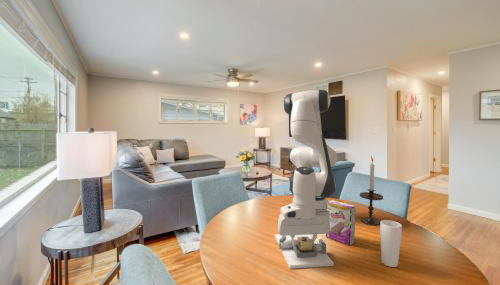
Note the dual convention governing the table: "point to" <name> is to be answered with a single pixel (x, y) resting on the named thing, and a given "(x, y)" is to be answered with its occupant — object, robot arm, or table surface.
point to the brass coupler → (304, 244)
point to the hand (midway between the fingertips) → (303, 244)
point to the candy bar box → (341, 222)
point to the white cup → (390, 242)
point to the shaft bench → (303, 259)
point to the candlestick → (371, 199)
